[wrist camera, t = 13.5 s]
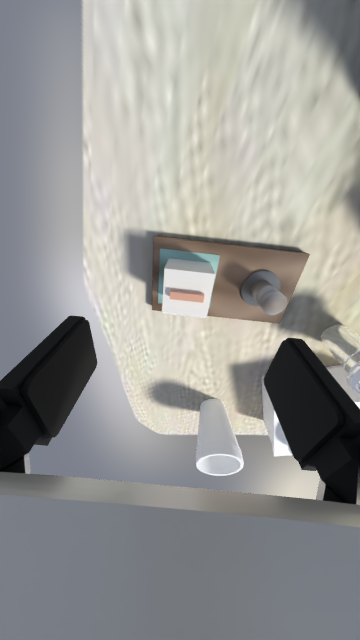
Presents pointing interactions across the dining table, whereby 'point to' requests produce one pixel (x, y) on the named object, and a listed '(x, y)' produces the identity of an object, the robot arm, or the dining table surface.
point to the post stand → (235, 276)
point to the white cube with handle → (187, 288)
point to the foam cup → (217, 441)
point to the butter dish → (272, 420)
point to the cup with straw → (345, 352)
